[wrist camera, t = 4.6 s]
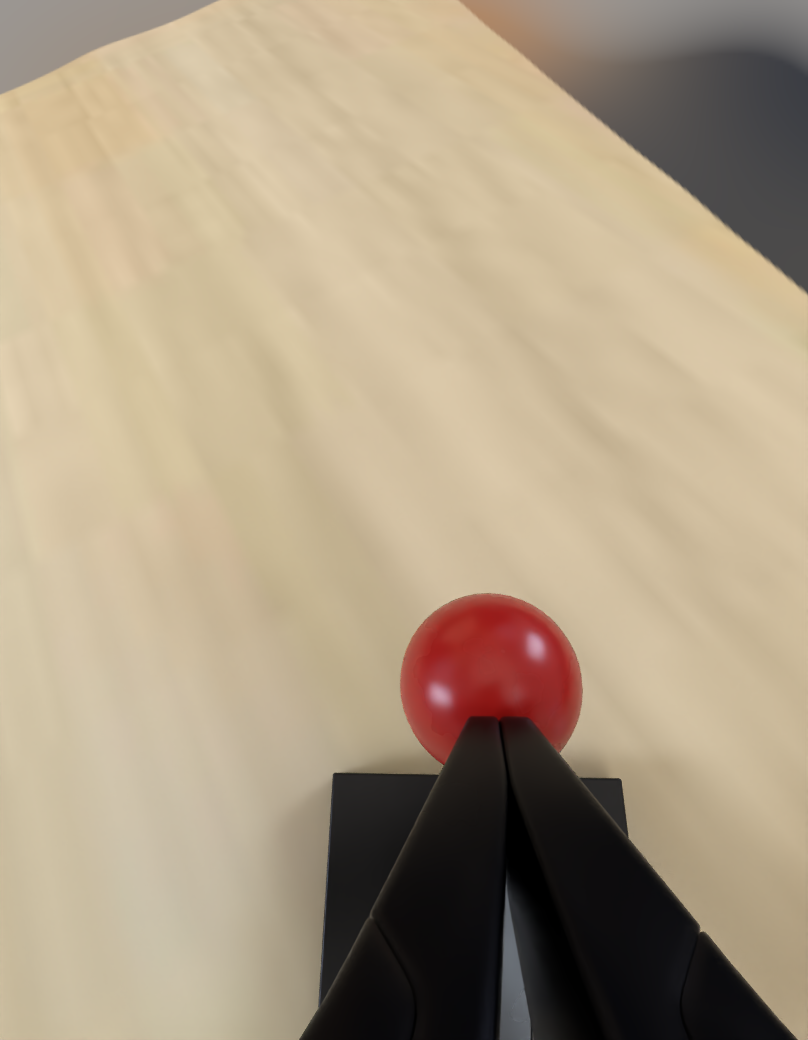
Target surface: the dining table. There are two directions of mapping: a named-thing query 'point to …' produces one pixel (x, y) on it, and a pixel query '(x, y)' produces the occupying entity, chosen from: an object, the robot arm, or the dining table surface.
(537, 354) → the dining table surface
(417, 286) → the dining table surface
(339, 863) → the switch bracket
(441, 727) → the switch lever
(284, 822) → the dining table surface
